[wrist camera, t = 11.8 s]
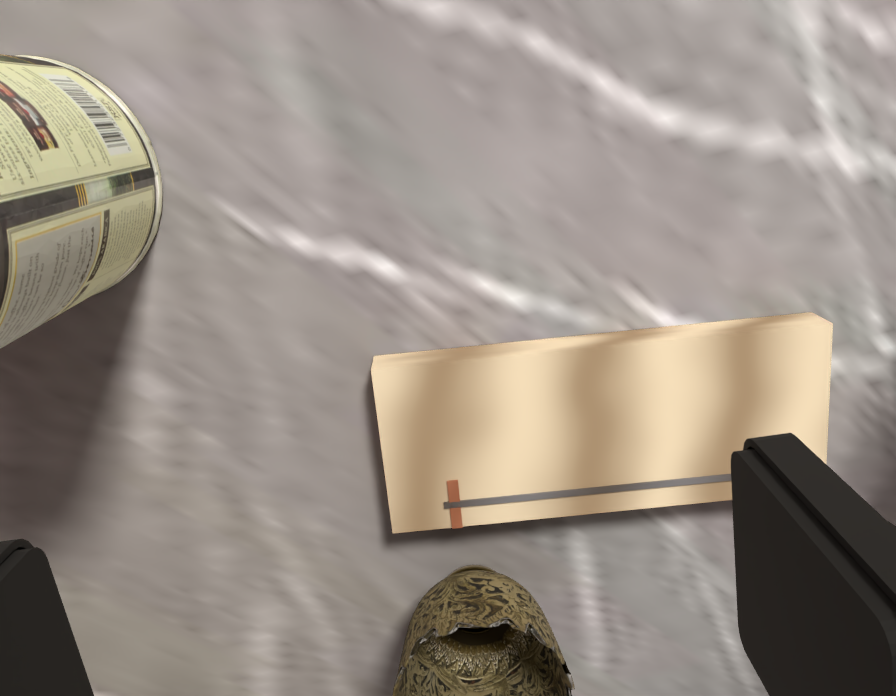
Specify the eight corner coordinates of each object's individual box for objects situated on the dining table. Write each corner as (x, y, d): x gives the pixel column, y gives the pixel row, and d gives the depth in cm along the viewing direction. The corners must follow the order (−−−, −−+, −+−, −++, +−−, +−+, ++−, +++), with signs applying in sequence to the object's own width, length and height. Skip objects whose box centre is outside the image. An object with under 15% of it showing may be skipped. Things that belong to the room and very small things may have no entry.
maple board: (811, 312, 36) (834, 324, 34) (805, 471, 38) (825, 491, 36) (373, 356, 36) (370, 370, 34) (394, 512, 38) (392, 534, 36)
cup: (465, 677, 41) (474, 807, 34) (369, 586, 40) (354, 701, 32) (576, 594, 40) (611, 709, 32) (482, 496, 38) (495, 594, 31)
